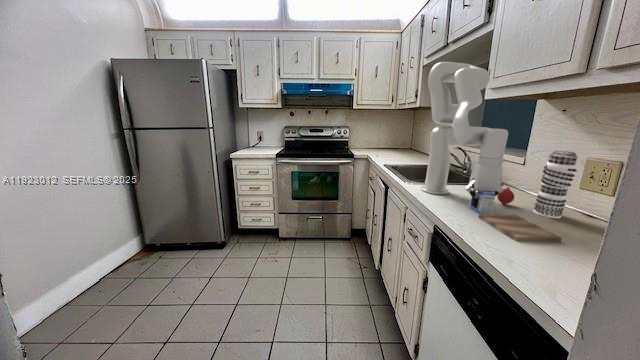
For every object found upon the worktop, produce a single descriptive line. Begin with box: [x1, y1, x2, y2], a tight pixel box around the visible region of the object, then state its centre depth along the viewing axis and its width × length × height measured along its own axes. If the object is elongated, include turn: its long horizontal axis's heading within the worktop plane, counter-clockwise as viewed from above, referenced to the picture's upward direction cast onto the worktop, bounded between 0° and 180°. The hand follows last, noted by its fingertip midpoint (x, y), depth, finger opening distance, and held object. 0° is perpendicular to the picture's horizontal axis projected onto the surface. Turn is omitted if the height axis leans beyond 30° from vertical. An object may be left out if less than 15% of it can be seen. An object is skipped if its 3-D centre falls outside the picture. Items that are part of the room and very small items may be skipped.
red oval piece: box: [496, 186, 515, 206], centre depth 108 cm, size 6×6×8 cm
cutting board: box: [478, 213, 563, 243], centre depth 85 cm, size 18×14×2 cm
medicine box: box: [468, 188, 496, 215], centre depth 100 cm, size 8×4×9 cm, turn 178°
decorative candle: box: [532, 150, 579, 219], centre depth 96 cm, size 9×9×25 cm
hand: (480, 206), depth 100 cm, fingers closed on medicine box, 4 cm apart
